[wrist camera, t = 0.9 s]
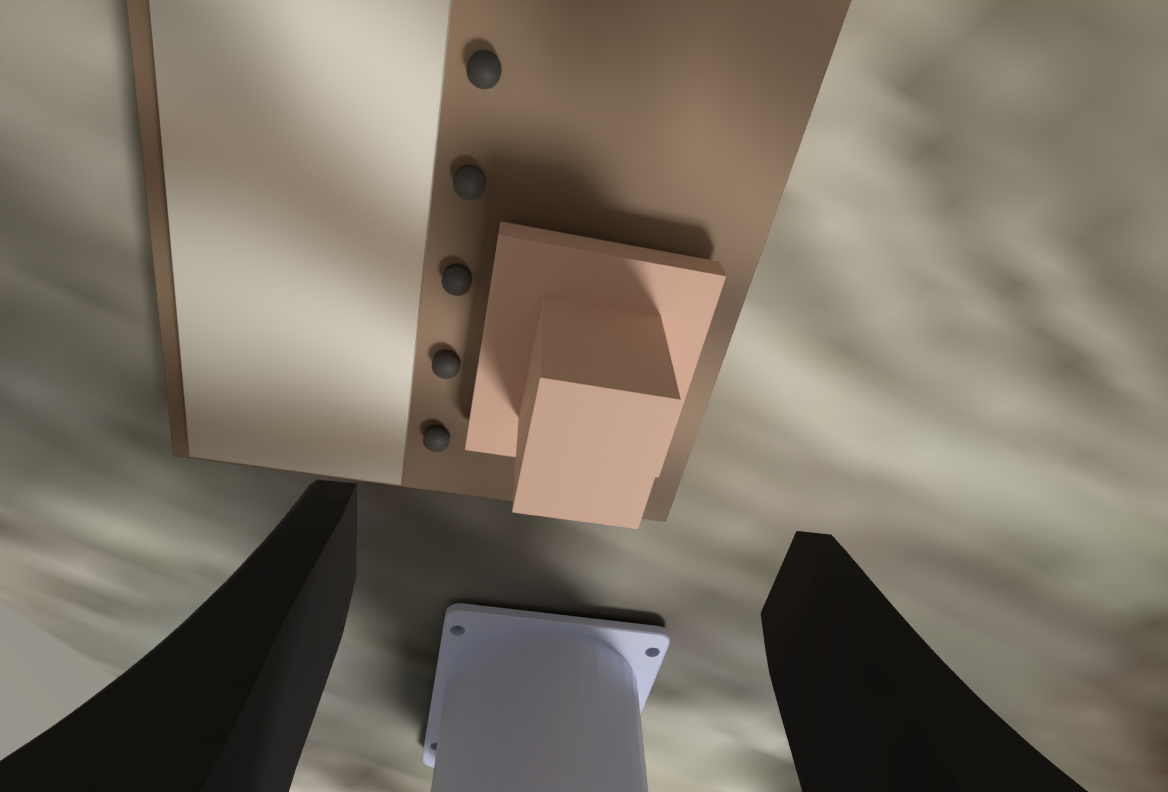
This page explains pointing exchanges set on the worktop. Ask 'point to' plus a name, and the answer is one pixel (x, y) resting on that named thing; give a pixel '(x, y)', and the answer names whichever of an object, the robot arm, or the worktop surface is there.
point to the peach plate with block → (587, 368)
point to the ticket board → (437, 200)
